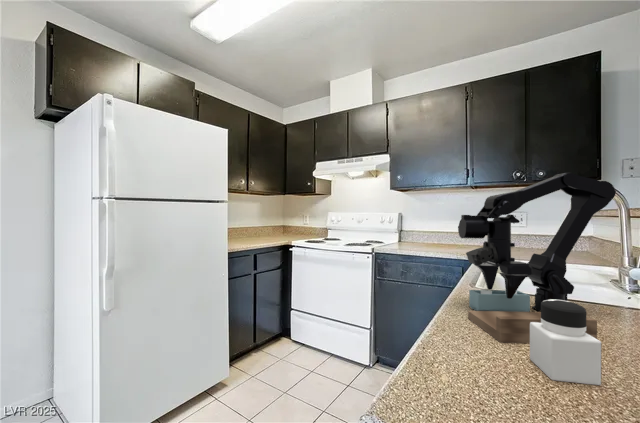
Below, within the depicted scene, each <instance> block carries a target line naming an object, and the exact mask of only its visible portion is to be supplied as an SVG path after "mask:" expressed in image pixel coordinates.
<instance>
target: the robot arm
mask: <svg viewBox="0 0 640 423" xmlns="http://www.w3.org/2000/svg"><path fill="white" fill-rule="evenodd" d="M558 191H562V192H563V193H565V194H566V195H568V196H570V197H571V198H570V205H571V208H570V210H569V212H568V213H567V215H566V217H565V218H564V220H563V222H562V223H561V225H560V227H559V228H558V230H557V232H555V234H554V237H553V238H552V240H551V241H550V243H549V245H548V246H547V248H546V250H545V251H543V252H542V253H540V254H538V253H533V254H531V257H530V259H529V261H528V262H523V261H520V260H519V261H516V259H515V257H512V248H515V247H516V244H515V242H512V224H520V222H521V221H520V220H519V219H518V218H517V217H515V216H514V214H512V213H513V212H515V211H517V210H519V209H520V208H521V207H523V205H524V204H526V203H528V202H532V201H534V200H537V199H539V198H541V197H545V196H547V195H550V194H553V193H555V192H558ZM616 194H617V190H616V189H615V185H613V184H612V183H611V182H610V181H606V180H599V179H595V178H591V177H587V176H582V175H581V176H580V175H578V174H576V173H572V172H564V173H559V174H554V175H553V176H551V177H549V178H546V179H544V180H541V181H538V182H535V183H533V184H531V185H528V186H525V187H523V188H521V189H520V188H519V189H518V190H515V191H514V190H513V191H510V192H505V193H499V194H495V195H494V194H493V195H490V196H488V197H487V198H485V201H484V203H483V204H484V205H483V207H482V208H481V209H480V211H478V213H477V214H476V215H471V214H461V216H460V218H461V219H460V220H459V223H458V226H457V230H458V232H457V233H458V235H459V237H460V239H484V238H485V237H486V236H487V241H484V242H483V244H482V247H478V248H474V249H473V250H470V251H466V252H465V254H466V258H467V260H468V262H469V264H473V265H474V266H475V267H477V268H478V269H479V270H480V271H481V273H482V276H483V279H484V281H485V285H486V288H487V290H493V287H494V285H495V283H496V282H495V281H496V278H497V275H498V274H497V273H498V271H500V272H499V275H500V276H501V277H502V278H503V279H504V287H505V290H506V295H507V298H508V299H511V298H512V297H513V296H514V294H515V292H516V291H518V289H519V287H520V286H521V284H522V283H523V281H525V279H526V278H529V280H530V281H531V284H532V286H534V287H536V289H535V290H536V292H535V293H534V305H532V307H531V308H532V309H534V310H536V311H537V312H541V302H543V301H545V300H550V299H556V300H564V301H568V295H572V294H573V292H574V289H575V286H574V284H572V283H571V282H570V281H569V280H568V279H566V277H565V275H566V274H567V259H568V257H569V256H570V254H571V252H572V250H573V249H574V247H575V246H576V244H577V242H578V240H579V239H580V237H581V236H582V234H583V233H584V231H585V229H586V228H587V226H588V224H589V222H590V221H591V219H593V218H592V217H593V216H594V215H595V214H596V213H599V212H600V211H601V210H602V209H605V208H606V207H607V206H608V205H609V204H610V203H611V201H612V200H613V199H614V198H615V196H616ZM503 215H504V216H503ZM488 219H492V220H488Z"/></svg>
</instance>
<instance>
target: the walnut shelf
mask: <svg viewBox="0 0 640 423" xmlns="http://www.w3.org/2000/svg"><path fill="white" fill-rule="evenodd" d="M467 319H468V320H470V322H472V323H474V324H475V325H476V326H478V327H479V328H480V329H481V330H483V331H484V332H486V333H487V334H488V335H490V336H491V337H492V338H493V339H495V340H496V341H498V342H499V343H503V344H504V343H505V344H506V343H507V344H530V322H538V323H541V312H540V311H530V312H515V311H475V310H468V311H467ZM585 333H587V334H589V335H591V336H592V337H594V338H596V339H598V320H597V319H594V318H592V317H586V332H585Z"/></svg>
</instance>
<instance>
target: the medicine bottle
mask: <svg viewBox="0 0 640 423" xmlns="http://www.w3.org/2000/svg"><path fill="white" fill-rule="evenodd" d="M586 318H587V309H586V308H585V307H584V306H582V305H580V304H578V303H575V302H572V301H569V300H567V301H564V300H556V299H550V300H545V301H543V302H541V323H538V322H530V343H529V359H530V361H531V362H532V363H533V364H535V366H537V368H538V369H540V370H541V371H542V372H543V373H544V374H545V375H546V377H549V379H550V380H552V381H557V382H567V383H574V384H575V383H576V384H583V385H584V384H585V385H593V386H601V385H602V341H601V340H599V339H598V338H597V339H596V338H594V337H592V336H591V335H589V334H587V333H585V332H586Z"/></svg>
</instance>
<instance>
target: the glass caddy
mask: <svg viewBox="0 0 640 423" xmlns="http://www.w3.org/2000/svg"><path fill="white" fill-rule="evenodd" d="M468 291H469V292H468V293H469V302H468V304H469V308H470V307H471V308H470V309H472V310H473V309H474V310H473V311H515V312H531V295H530V294H528V293H524V292H523V291H520V290H517V291H516V292H515V294H514V296H513V297H512V298H511V299H508V298H507V295H506V289H504V290H503V289H502V290H501V289H500V290H499V289H498V290H497V289H495V290H494V289H492V290H489V289H486V288H485V289H483V288H482V289H469V290H468Z"/></svg>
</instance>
